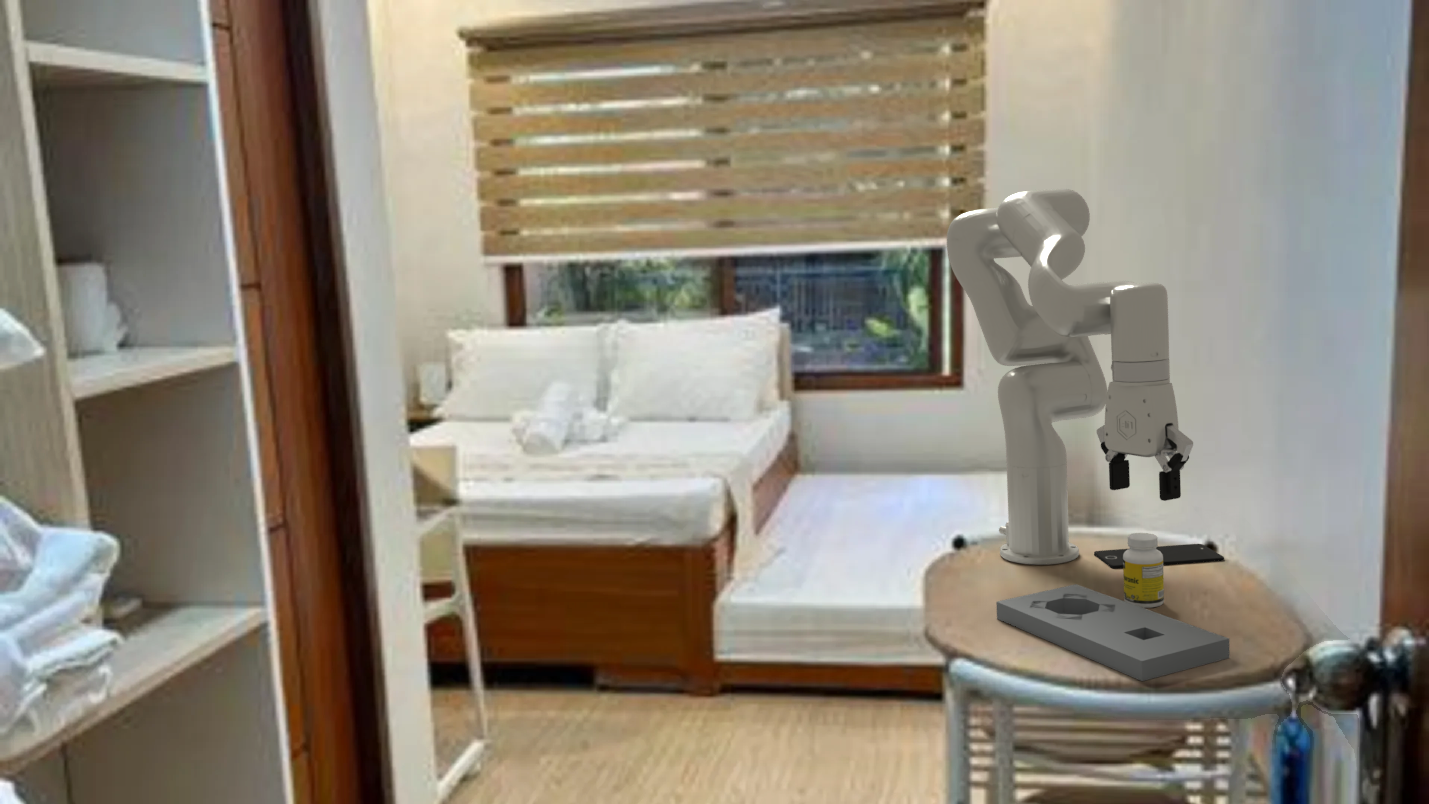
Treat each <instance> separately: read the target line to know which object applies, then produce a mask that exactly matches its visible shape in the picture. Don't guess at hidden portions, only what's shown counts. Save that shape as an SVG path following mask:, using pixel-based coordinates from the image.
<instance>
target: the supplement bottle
mask: <svg viewBox="0 0 1429 804" xmlns="http://www.w3.org/2000/svg"><path fill="white" fill-rule="evenodd" d="M1127 547H1129V548H1127V549H1128V550H1126V551H1125V552H1124V554H1123V568H1122V571H1123V572H1122V573H1123V578H1122V579H1123V601H1125V602H1128V603H1131V604H1133V605H1136V606H1139V607H1142V608H1145V609H1150V608H1151V609H1152V608H1157V607H1160V606H1162V605H1163V604H1164V602H1165V586H1164V585H1165V583H1164V582H1165V581H1164V580H1165V579H1164V565H1163V555H1162V553H1161V552H1160V551H1159V550H1157V549H1156V547H1158V536H1157V535H1156V534H1153V533H1150V532H1149V533H1148V532H1134V533H1131V534H1128V535H1127Z"/></svg>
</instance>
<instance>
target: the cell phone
mask: <svg viewBox="0 0 1429 804" xmlns="http://www.w3.org/2000/svg"><path fill="white" fill-rule="evenodd" d="M1128 549H1129V548H1120V549H1119V548H1118V549H1105V550H1103V549H1102V550H1095V551H1094V552H1093V553H1094V557H1095V558H1097V559H1098V560H1100V561H1101V562H1103V563H1104V564H1105V565H1106V566H1108V567H1109V568H1110V569H1114V570H1117V569H1119V570H1121V569H1123V554H1124V552H1125V551H1126V550H1128ZM1156 549H1157V550H1159V551H1160V552H1161V553H1162V555H1163V566H1172V565H1173V566H1174V565H1175V566H1176V565H1186V564H1189V565H1190V564H1199V563H1201V564H1202V563H1215V562H1224V561H1225V557H1224V556H1223V555H1221V554H1219V553H1218V552H1216V551H1215V550H1213V549H1212V548H1209V547H1208V546H1206V545H1204V544H1203V543H1191V544H1190V543H1187V544H1177V545H1176V544H1175V545H1162V546H1161V545H1160V546H1157V547H1156Z"/></svg>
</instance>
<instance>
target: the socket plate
mask: <svg viewBox="0 0 1429 804" xmlns="http://www.w3.org/2000/svg"><path fill="white" fill-rule="evenodd" d="M996 619H997V620H998V621H1002V622H1003V621H1004V622H1003V623H1006V624H1008V623H1009V625H1010V624H1011V625H1010V626H1012V627H1015V626H1016V627H1015V628H1016V629H1017V628H1018V629H1020V630H1022V631H1025V632H1027V633H1029V634H1032V635H1034V636H1036V637H1038V638H1040V639H1044V640H1046V641H1047V642H1050V643H1053V644H1054V645H1057V646H1059V647H1061V648H1064V649H1066V650H1069V651H1071V652H1073V653H1075V654H1078V655H1080V656H1083V657H1085V658H1087V659H1089V660H1092V661H1094V662H1097V663H1099V664H1101V665H1103V666H1105V667H1109V668H1110V669H1113V670H1115V671H1118V672H1120V673H1122V674H1124V675H1127V676H1129V677H1131V678H1133V679H1136V680H1139V681H1141V682H1145V681H1148V680H1151V679H1156V678H1159V677H1162V676H1166V675H1171V674H1173V673H1178V672H1181V671H1185V670H1190V669H1192V668H1197V667H1201V666H1204V665H1208V664H1211V663H1215V662H1219V661H1220V662H1221V661H1223V660H1227V659H1230V638H1229V637H1226V636H1223V635H1220V634H1218V633H1216V632H1215V633H1214V632H1212V631H1210V630H1207V629H1204V628H1201V627H1198V626H1195V625H1193V624H1189V623H1187V622H1184V621H1181V620H1178V619H1175V618H1172V617H1170V616H1167V615H1164V614H1162V613H1158V612H1156V611H1153V610H1150V609H1149V608H1142V607H1139V606H1136V605H1133V604H1131V603H1128V602H1125V601H1124V600H1121V599H1120V598H1116V597H1114V596H1111V595H1108V594H1105V593H1101V592H1099V591H1096V590H1094V589H1091V588H1088V587H1086V586H1082V585H1079V584H1070V585H1066V586H1062V587H1057V588H1052V589H1048V590H1044V591H1039V592H1034V593H1030V594H1024V595H1022V596H1017V597H1012V598H1007V599H1002V600H999V601H996Z"/></svg>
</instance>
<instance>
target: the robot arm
mask: <svg viewBox="0 0 1429 804" xmlns="http://www.w3.org/2000/svg"><path fill="white" fill-rule="evenodd" d="M1090 217H1091V216H1090V209H1089V207H1088V204H1087V202H1086V200H1085V198H1084V197H1083V196H1082V195H1081V194H1079V193H1078V192H1077V191H1075V190H1072V189H1069V188H1057V189H1056V188H1053V189H1052V188H1051V189H1038V190H1036V189H1035V190H1024V191H1018V192H1016V193H1013V194H1010V195H1009V196H1007V197H1006V198H1005V199H1003V201H1002V202H1001V203H1000V204H999V206H998V207H995V208H994V207H992V208H991V207H989V208H979V209H974V210H971V211H970V210H969V211H967V212H964V213H960V215H958V216H956V217H954V219H953V220H951V222H950V224H949V226H948V229H947V232H946V250H947V256H948V260H949V264H950V267H951V269H952V272H953V274H954V276H955V278H956V280H957V281H958V283H959V284H960V286H961V287H962V289H963V290H964V292H965V293H966V295H967V297H968V298H969V300H970V303H971V305H972V307H973V310H974V312H975V316H976V318H977V322H978V323H979V326H980V329H981V332H982V334H983V337H984V339H985V342H986V345H987V347H988V350H989V352H990V355H991V356H992V357H993V359H994V360H995V362H996V363H997V364H999V365H1002V366H1007V367H1015V366H1016V367H1015V368H1012V369H1011V370H1008V371H1007V372H1006V373H1005V374H1004V375H1003V376H1002V377H1001V379H1000V381H999V383H998V386H997V398H998V403H999V404H998V405H999V410H1000V413H1001V418H1002V423H1003V430H1004V431H1003V432H1004V439H1005V454H1006V455H1005V458H1006V462H1005V463H1006V483H1007V484H1006V487H1007V488H1006V489H1007V514H1008V515H1007V516H1008V517H1007V519H1008V521H1007V522H1006V523H1005V525H1001V526H999V528H998V532H999V534H1001V535H1004V536H1006V543H1004V544H1002V545H1001V546H1000V547H999V555H1000V556H1001V557H1002V558H1003V559H1004V560H1006V561H1009V562H1013V563H1017V564H1021V565H1022V564H1024V565H1035V566H1036V565H1038V566H1040V565H1043V566H1044V565H1057V564H1064V563H1068V562H1072V561H1073V560H1076V558H1078V557H1079V556H1080V555H1079V554H1080V548H1079V547H1078V546H1077V545H1076V544H1074V543H1072V542H1069V541H1070V539H1069V537H1070V535H1069V497H1068V495H1069V493H1068V491H1069V490H1068V465H1067V463H1068V460H1067V449H1066V446H1065V443H1064V441H1063V439H1062V438H1061V437H1060V435H1059V434H1058V432H1057V431H1056V429H1055V428H1054V427H1053V423H1056V422H1061V421H1069V420H1077V419H1079V420H1080V419H1086V418H1089V417H1093V416H1096V415H1097V414H1099V413H1100V412H1102V410H1104V409H1105V411H1104V412H1105V413H1104V424H1103V425H1102V426H1100V427H1099V428H1096V435H1097V438H1098V440H1099V443H1100V449H1101V450H1102V452H1103V453H1104V454H1105V456H1104V458H1105V461H1106V462H1107V463H1108V474H1109V476H1108V478H1109V481H1108V482H1109V489H1110V490H1111V491H1119V490H1123V489H1128V488H1130V485H1131V483H1130V480H1131V479H1130V461H1129V460H1128V459H1126V458H1127V456H1128V455H1129V456H1137V457H1141V458H1142V457H1143V458H1153V457H1155V459H1156V461H1157V463H1158V464H1159V466H1160V467H1161V469H1162V471H1158V472H1159V473H1158V482H1159V483H1158V485H1159V488H1158V489H1159V499H1160V501H1165V502H1166V501H1171V500H1177V499H1180V498H1181V495H1182V493H1181V488H1182V487H1181V471H1182V470H1184V469H1185V465H1186V463H1187V462H1188V461H1189V459H1190V454H1191V451H1192V449H1193V446H1194V441H1193V440H1192V439H1191V438H1189V437H1188V436H1187V435H1186V434H1184V433H1183V432H1182V431H1181V430H1180V428H1179V418H1178V410H1177V407H1178V406H1177V402H1176V395H1175V390H1174V386H1173V383H1172V382H1171V378H1170V377H1171V373H1170V372H1171V370H1170V369H1171V368H1170V342H1169V341H1170V338H1169V337H1170V335H1169V334H1170V333H1169V304H1168V303H1169V302H1168V301H1169V300H1168V298H1169V297H1168V290H1167V289H1166V286H1164V285H1163V284H1161V283H1158V282H1139V283H1137V282H1134V281H1128V280H1117V281H1106V282H1105V281H1101V282H1091V283H1090V282H1087V283H1078V284H1067V283H1066V282H1065V281H1063V280H1064V279H1065V278H1068V277H1069V276H1070V275H1071V274H1072V273H1074V272H1075V271H1076V269H1078V267H1079V266H1080V265H1081V263H1082V261H1083V260H1084V258H1085V257H1084V256H1085V253H1086V245H1085V241H1084V239H1083V236H1084V235H1085V233H1086V232H1087V230H1088V228H1089V225H1090V220H1091V219H1090ZM1019 257H1021V258H1023V260H1025V262H1026V263H1027V264H1028V265H1029V267H1030V270H1029V274H1028V279H1027V280H1028V281H1027V285H1028V286H1027V288H1028V295H1029V299H1030V302H1031V304H1030V303H1029V302H1028V300H1027V299H1026V297H1025V295H1024V291H1023V290H1022V286H1021V284H1020V283H1019V282H1018V280H1017V279H1016V278H1015V276H1013V275H1012V274H1011V273H1010V272H1009V271H1008V270H1007V269H1005V268H1004V267H1002V266H1001V265H1000V264H999V263H997V262H996V261H995V259H1007V258H1019ZM1097 335H1098V336H1100V335H1101V336H1102V335H1110V342H1111V349H1110V350H1111V366H1110V370H1111V372H1112V373H1111V376H1112V379H1111V380H1112V381H1109V383H1108V385H1107V382H1106V378H1105V374H1104V372H1103V370H1102V368H1101V364H1100V362H1099V359H1098V358H1097V355H1096V353H1095V351H1094V347H1093V345H1092V343H1091V340H1090V338H1089V336H1097ZM1167 457H1168V458H1169V460H1168V458H1167Z"/></svg>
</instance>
